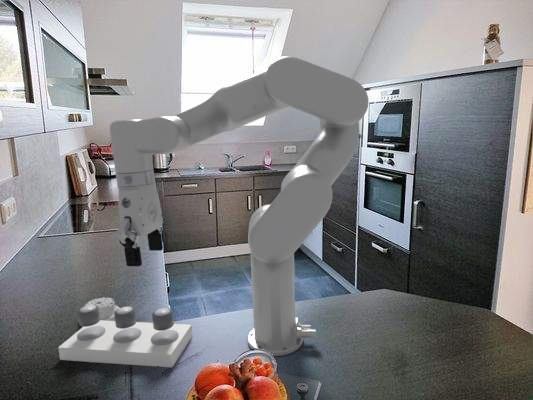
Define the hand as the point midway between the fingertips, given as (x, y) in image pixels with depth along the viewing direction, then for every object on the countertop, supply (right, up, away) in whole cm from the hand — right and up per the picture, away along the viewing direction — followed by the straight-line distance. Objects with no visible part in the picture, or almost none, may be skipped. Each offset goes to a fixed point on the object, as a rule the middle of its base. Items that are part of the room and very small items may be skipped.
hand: (145, 257), depth 83 cm
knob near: (+3, -15, +1) cm, 16 cm away
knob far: (-14, -15, +4) cm, 21 cm away
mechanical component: (-18, -19, +19) cm, 33 cm away
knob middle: (-5, -15, +3) cm, 17 cm away
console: (-5, -21, +4) cm, 22 cm away
